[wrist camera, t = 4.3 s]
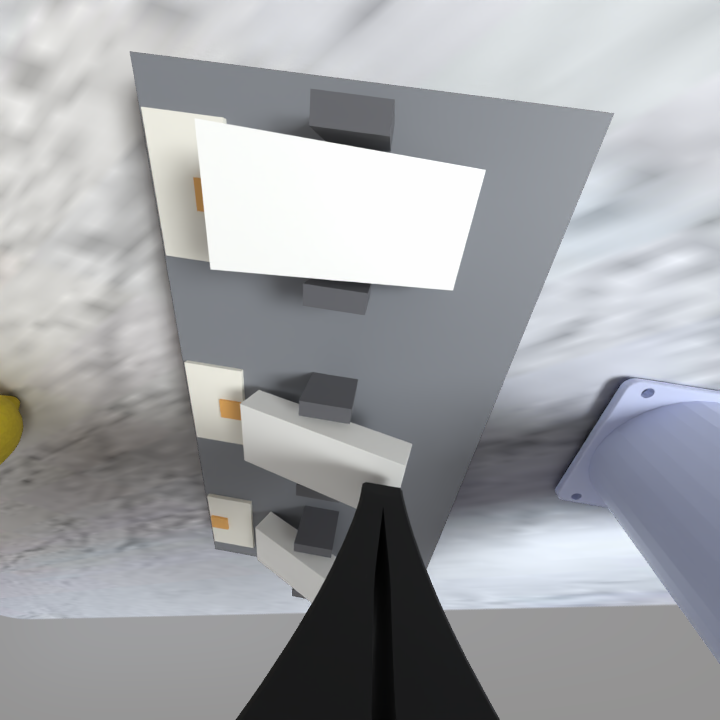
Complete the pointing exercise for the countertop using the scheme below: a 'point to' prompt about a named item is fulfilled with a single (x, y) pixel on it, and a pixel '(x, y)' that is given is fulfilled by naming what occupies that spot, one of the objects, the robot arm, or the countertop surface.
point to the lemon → (9, 425)
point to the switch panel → (357, 285)
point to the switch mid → (319, 449)
